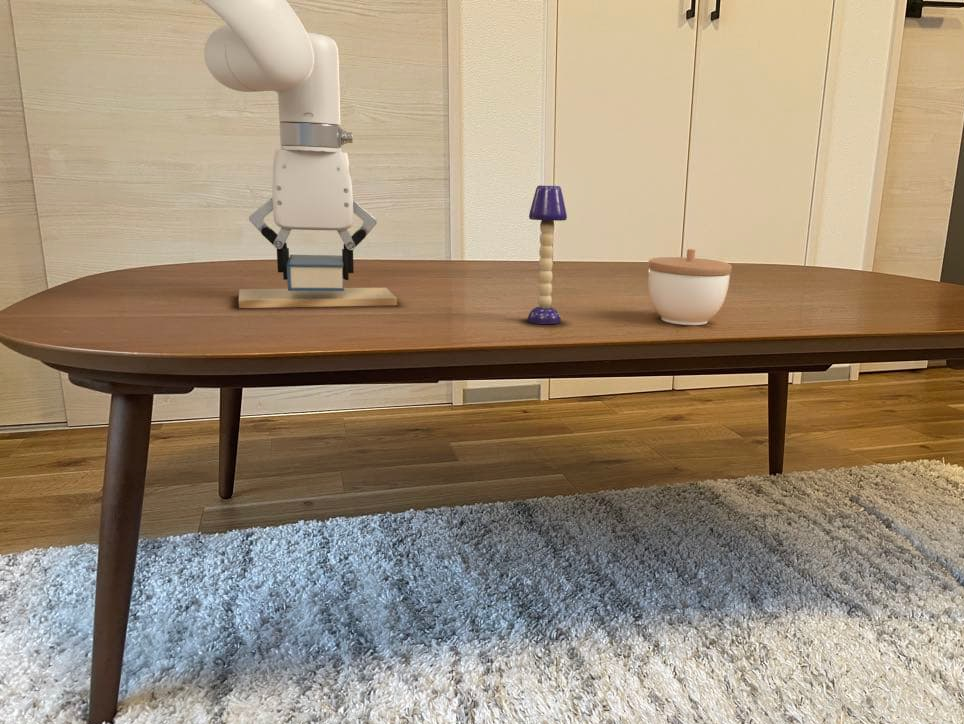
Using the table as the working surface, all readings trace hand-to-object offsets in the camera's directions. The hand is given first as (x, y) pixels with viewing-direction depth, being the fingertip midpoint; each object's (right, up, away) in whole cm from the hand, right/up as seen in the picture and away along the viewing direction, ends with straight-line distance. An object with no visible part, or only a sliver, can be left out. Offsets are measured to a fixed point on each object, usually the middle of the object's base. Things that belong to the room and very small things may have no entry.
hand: (316, 277), depth 105 cm
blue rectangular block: (0, -1, 0) cm, 1 cm away
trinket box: (+49, -6, -1) cm, 50 cm away
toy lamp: (+31, -7, -6) cm, 32 cm away
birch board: (0, -3, +1) cm, 3 cm away
